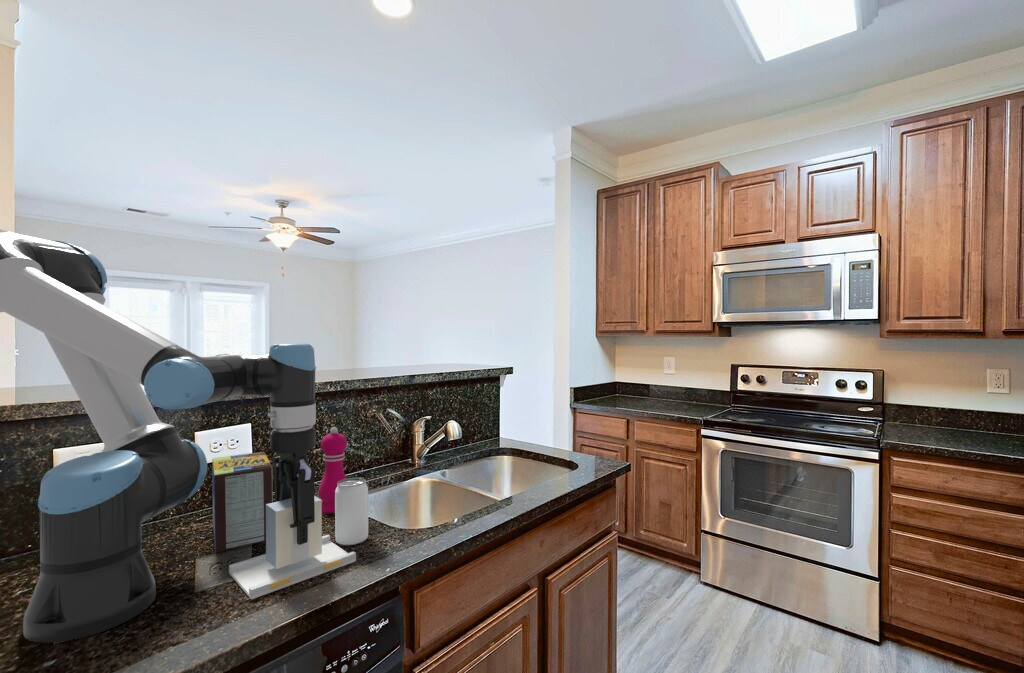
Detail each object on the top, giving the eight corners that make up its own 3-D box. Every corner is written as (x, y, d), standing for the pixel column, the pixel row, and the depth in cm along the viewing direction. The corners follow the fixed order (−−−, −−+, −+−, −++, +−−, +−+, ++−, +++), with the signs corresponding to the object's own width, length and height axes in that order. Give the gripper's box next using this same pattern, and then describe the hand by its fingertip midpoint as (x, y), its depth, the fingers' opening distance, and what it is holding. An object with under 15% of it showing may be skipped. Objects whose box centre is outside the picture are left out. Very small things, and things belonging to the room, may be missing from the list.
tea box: (276, 569, 82) (275, 511, 82) (266, 559, 86) (265, 504, 86) (321, 553, 88) (321, 499, 88) (310, 545, 91) (310, 493, 91)
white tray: (251, 600, 76) (251, 590, 76) (229, 573, 85) (229, 565, 85) (356, 561, 89) (356, 553, 89) (327, 541, 97) (327, 534, 97)
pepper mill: (313, 508, 116) (313, 426, 116) (342, 501, 121) (342, 423, 121) (325, 516, 111) (324, 431, 111) (354, 508, 116) (354, 427, 116)
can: (358, 547, 95) (357, 487, 95) (328, 545, 96) (328, 485, 96) (374, 534, 101) (373, 478, 101) (346, 532, 102) (346, 476, 102)
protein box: (265, 517, 111) (264, 451, 111) (273, 540, 98) (273, 465, 98) (212, 527, 105) (211, 457, 105) (213, 553, 92) (213, 474, 92)
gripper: (254, 424, 90) (255, 546, 90) (291, 438, 78) (291, 580, 78) (295, 419, 96) (295, 534, 96) (335, 431, 83) (336, 564, 83)
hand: (293, 554), depth 87 cm, fingers closed on tea box, 5 cm apart
